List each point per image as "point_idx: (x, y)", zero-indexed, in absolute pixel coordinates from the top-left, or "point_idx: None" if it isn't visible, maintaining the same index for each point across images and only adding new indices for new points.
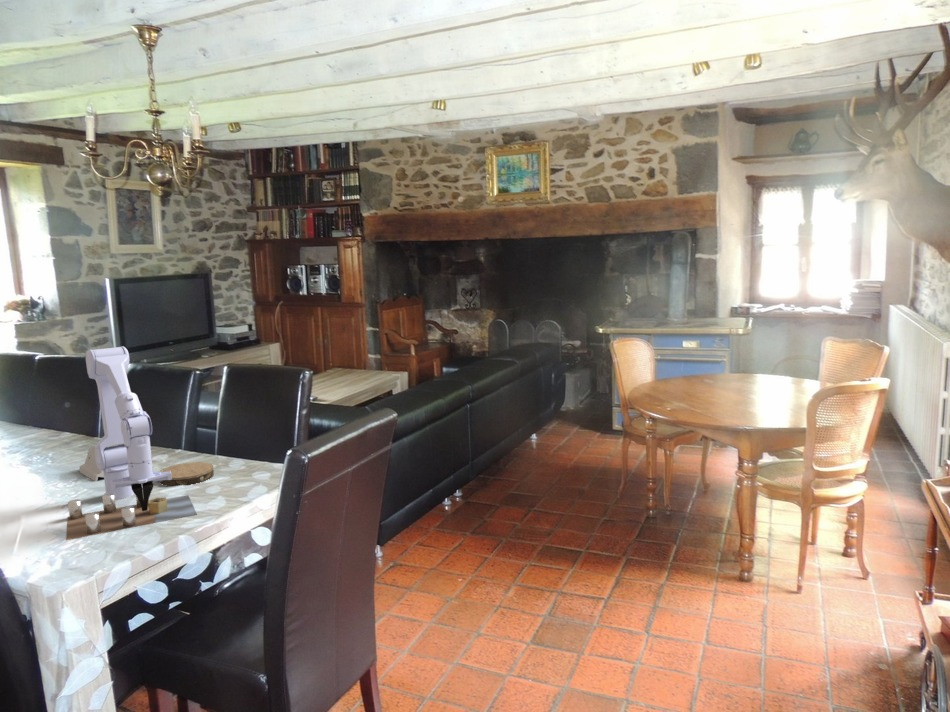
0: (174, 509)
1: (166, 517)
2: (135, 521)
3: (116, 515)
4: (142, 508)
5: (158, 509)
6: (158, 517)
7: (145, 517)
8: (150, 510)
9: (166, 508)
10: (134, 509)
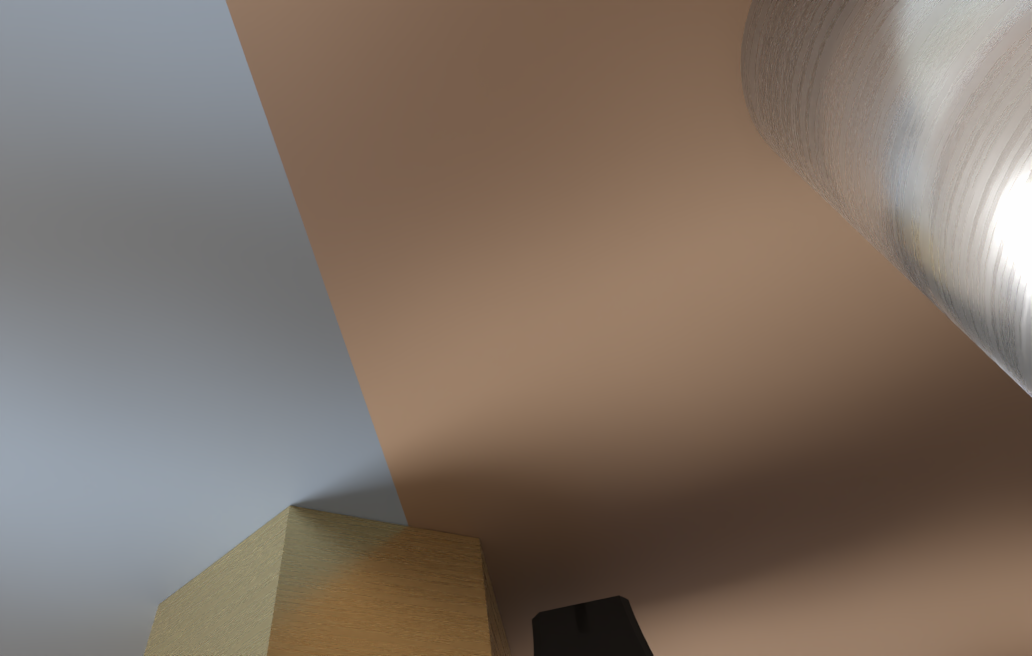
0: (34, 636)
1: (25, 262)
2: (784, 36)
3: (1003, 606)
4: (633, 639)
5: (283, 585)
6: (247, 320)
7: (546, 407)
8: (467, 597)
9: (156, 644)
10: (1002, 211)
